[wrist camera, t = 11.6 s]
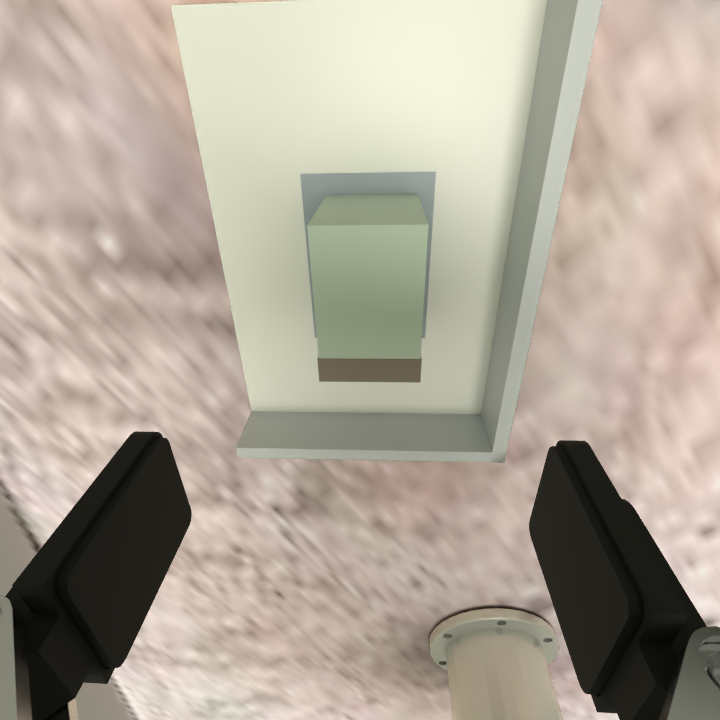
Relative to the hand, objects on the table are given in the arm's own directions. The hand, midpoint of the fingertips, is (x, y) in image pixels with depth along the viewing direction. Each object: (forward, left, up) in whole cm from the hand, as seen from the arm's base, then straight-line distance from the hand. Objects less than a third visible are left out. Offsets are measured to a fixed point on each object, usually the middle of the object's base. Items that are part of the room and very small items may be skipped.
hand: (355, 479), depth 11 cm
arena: (0, 0, -15) cm, 15 cm away
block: (0, 0, -15) cm, 15 cm away
